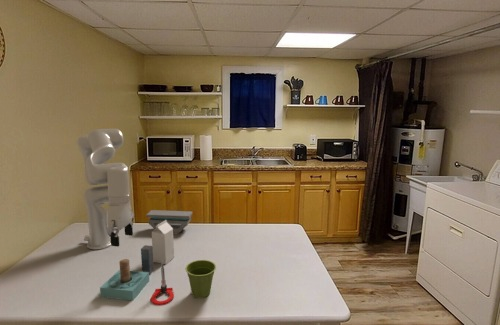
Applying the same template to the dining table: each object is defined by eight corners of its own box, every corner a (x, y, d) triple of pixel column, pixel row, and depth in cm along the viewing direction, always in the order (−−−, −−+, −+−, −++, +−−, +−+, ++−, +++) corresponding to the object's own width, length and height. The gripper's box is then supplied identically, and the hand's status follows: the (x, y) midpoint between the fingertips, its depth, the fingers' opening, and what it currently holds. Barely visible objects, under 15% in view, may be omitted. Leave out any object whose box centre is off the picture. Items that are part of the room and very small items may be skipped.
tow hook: (172, 305, 117) (175, 289, 126) (170, 274, 114) (173, 261, 123) (149, 307, 116) (153, 291, 125) (147, 276, 113) (151, 262, 122)
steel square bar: (142, 274, 137) (140, 248, 135) (146, 270, 140) (144, 245, 138) (150, 275, 136) (148, 249, 134) (153, 270, 140) (152, 245, 138)
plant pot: (190, 305, 116) (189, 278, 114) (183, 288, 126) (182, 263, 124) (220, 298, 120) (220, 271, 118) (211, 282, 131) (211, 257, 129)
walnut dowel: (119, 290, 125) (117, 263, 122) (124, 285, 128) (122, 258, 126) (128, 291, 124) (126, 263, 122) (132, 286, 128) (130, 259, 125)
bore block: (100, 296, 121) (99, 287, 120) (120, 278, 134) (119, 269, 133) (133, 300, 119) (132, 290, 118) (149, 281, 132) (148, 272, 131)
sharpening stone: (147, 232, 181) (146, 214, 179) (152, 227, 189) (151, 210, 187) (189, 234, 179) (188, 216, 177) (192, 228, 187) (192, 211, 185)
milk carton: (174, 257, 152) (172, 220, 148) (165, 264, 145) (164, 226, 142) (161, 255, 154) (160, 218, 151) (152, 262, 147) (150, 224, 144)
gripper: (122, 191, 128) (125, 230, 131) (96, 205, 111) (100, 249, 115) (139, 192, 127) (142, 232, 130) (115, 206, 110) (118, 251, 114)
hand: (122, 240), depth 122 cm, fingers open, 9 cm apart
